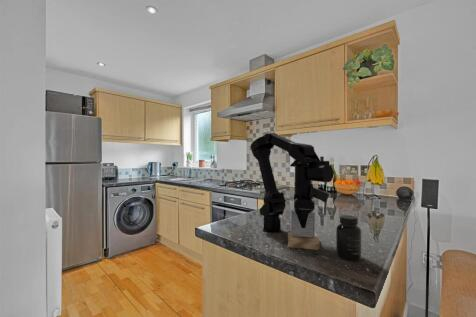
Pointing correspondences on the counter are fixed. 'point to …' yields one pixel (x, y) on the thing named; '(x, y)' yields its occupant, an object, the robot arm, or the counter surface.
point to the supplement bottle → (348, 238)
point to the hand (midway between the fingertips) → (302, 224)
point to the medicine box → (298, 230)
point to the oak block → (303, 242)
